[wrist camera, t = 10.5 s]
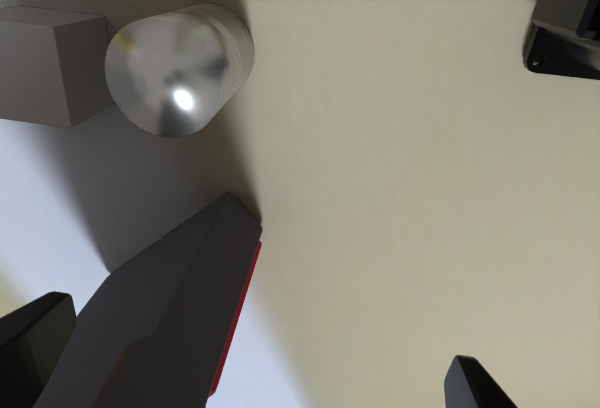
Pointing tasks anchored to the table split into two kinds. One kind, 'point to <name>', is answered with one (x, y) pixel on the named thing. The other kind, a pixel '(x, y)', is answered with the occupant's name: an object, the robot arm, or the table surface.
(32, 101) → the gray cube
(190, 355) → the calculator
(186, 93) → the metal canister
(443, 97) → the table surface
